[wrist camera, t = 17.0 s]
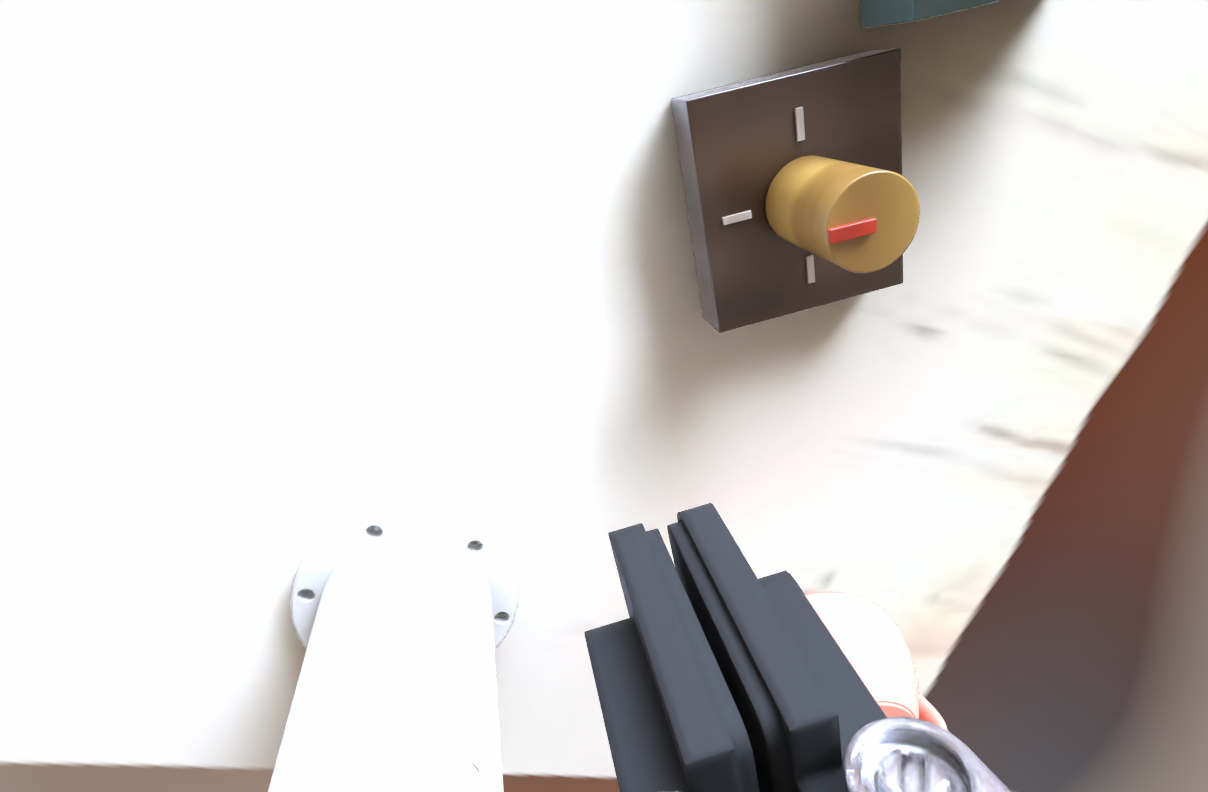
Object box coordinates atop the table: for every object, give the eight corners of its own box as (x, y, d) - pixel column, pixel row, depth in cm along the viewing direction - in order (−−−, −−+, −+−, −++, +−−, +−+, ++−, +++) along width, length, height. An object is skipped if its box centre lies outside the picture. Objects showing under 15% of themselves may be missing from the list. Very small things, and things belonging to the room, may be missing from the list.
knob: (842, 146, 31) (926, 160, 26) (846, 231, 33) (924, 262, 28) (760, 166, 31) (827, 185, 25) (768, 251, 33) (832, 286, 27)
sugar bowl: (752, 561, 44) (828, 685, 35) (926, 584, 48) (1035, 701, 39) (690, 700, 49) (743, 843, 39) (855, 710, 53) (938, 843, 43)
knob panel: (877, 271, 37) (905, 284, 35) (703, 318, 36) (720, 334, 34) (871, 50, 32) (903, 47, 30) (670, 98, 32) (687, 100, 29)
